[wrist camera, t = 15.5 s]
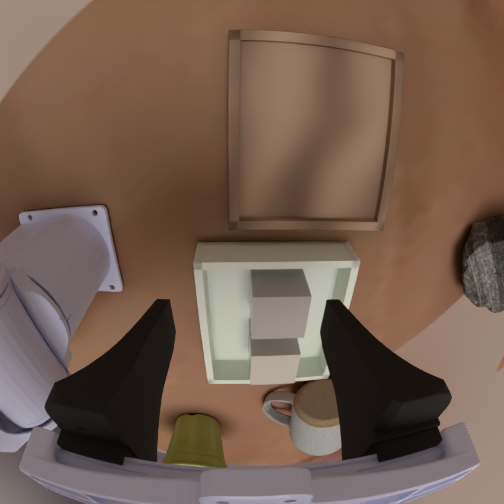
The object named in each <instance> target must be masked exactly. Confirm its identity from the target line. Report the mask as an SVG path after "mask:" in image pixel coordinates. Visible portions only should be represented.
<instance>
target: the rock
mask: <svg viewBox="0 0 504 504" xmlns="http://www.w3.org/2000/svg"><path fill="white" fill-rule="evenodd" d="M462 264H463V268H462V270H463V272H462V276H463V282H464V287H463V288H464V295H465V296H466V297H468V298H469V299H470V300H471V302H472V303H473V304H474V305H476V306H477V307H487V308H488V309H489V310H490V311H491V312H493V313H496V312H502V311H504V215H502V216H501V217H498V216H496V217H493V218H489V219H486V220H484V221H481V222H477V223H473V224H472V229H471V232H470V236H469V238H468V240H467V242H466V244H465V247H464V251H463V263H462Z"/></svg>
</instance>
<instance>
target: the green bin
mask: <svg viewBox="0 0 504 504" xmlns="http://www.w3.org/2000/svg"><path fill="white" fill-rule="evenodd" d="M359 265H360V259H359V258H358V256H357V255H356V253H355V252H354V250H353V248H352V247H351V245H350V244H349V242H198V244H197V248H196V252H195V256H194V261H193V267H194V277H195V286H196V295H197V304H198V312H199V320H200V328H201V336H202V343H203V351H204V358H205V364H206V371H207V378H208V384H246V383H250V375H249V355H248V335H249V319H250V309H249V286H250V270H253V269H303V272H304V275H305V278H306V281H307V284H308V287H309V290H310V293H311V296H312V298H311V303H310V309H309V314H308V320H307V325H306V330H305V335H304V338H297V339H298V344H299V348H300V353H301V356H300V361H299V366H298V370H297V375H296V380H295V381H306V380H317V379H327V378H328V377H329V374H330V373H329V370H328V366H327V363H326V359H325V356H324V352H323V348H322V342H321V336H320V328H321V324H322V319H323V315H324V310H325V305H326V300H330V299H339V300H340V301H341V302H342V303H343V304H344V305H345V306H346V307H347V309H348V310H349V306H350V302H351V298H352V294H353V290H354V286H355V282H356V278H357V273H358V269H359Z"/></svg>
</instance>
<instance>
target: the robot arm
mask: <svg viewBox="0 0 504 504" xmlns="http://www.w3.org/2000/svg"><path fill="white" fill-rule="evenodd" d="M94 210H96V211H97V212H98V214H95V213H94ZM30 215H31V216H32V218H31V217H30ZM19 220H20V224H21V225H20V226H19V227H18V228H16V229H15V230H14V231H13V232H12V233H10V234H9V235H8V236H7V237H6V238H5V239H4V240H2V241H1V242H0V452H16V451H17V450H18V449H19V448H20V447H21V446H22V445H23V444H24V443H25V442H27V441H28V443H27V446H26V449H25V452H24V454H23V457H22V460H21V463H20V466H19V469H20V470H21V471H22V472H24V473H25V474H27V475H28V476H29V477H31V478H32V479H34V480H35V481H37V482H38V483H40V484H41V485H43V486H44V487H46V488H48V489H50V490H52V491H55V492H57V493H60V494H62V495H65V496H67V497H70V498H72V499H75V500H78V501H81V502H83V503H86V504H404V503H406V502H409V501H412V500H414V499H417V498H419V497H422V496H425V495H427V494H429V493H432V492H434V491H437V490H439V489H441V488H444V487H446V486H449V485H451V484H452V483H454V482H455V481H457V480H458V479H460V478H462V477H463V476H465V475H466V474H467V473H469V472H470V471H472V470H473V469H474V468H476V467H477V466H478V465H479V464H480V461H479V459H478V456H477V453H476V450H475V448H474V445H473V443H472V440H471V438H470V435H469V433H468V431H467V428H466V426H465V424H464V423H463V422H462V423H459V424H456V425H453V426H451V427H448V428H445V429H443V430H442V431H440V432H439V429H438V426H439V425H440V421H439V419H438V417H439V416H440V415H441V414H442V412H443V411H444V410H445V409H446V408H447V406H448V405H449V403H450V401H451V398H452V396H451V393H450V391H449V389H448V387H447V385H446V383H445V381H444V380H443V379H440V378H438V377H436V376H433V375H431V374H429V373H426V372H424V371H423V370H420V369H419V368H417V367H415V366H413V365H411V364H410V363H408V362H407V361H405V360H404V359H402V358H401V357H399V356H398V355H396V354H395V353H393V352H392V351H391V350H390V349H388V348H387V347H386V346H384V345H383V344H382V343H381V342H380V341H379V340H377V339H376V338H375V337H374V336H373V335H372V334H371V333H370V332H369V331H368V330H367V329H366V328H365V327H364V326H363V325H362V324H361V323H360V322H359V321H358V320H357V319H356V318H355V316H354V315H353V314H352V313H351V312H350V311H349V310H348V309H347V307H346V306H345V305H344V304H343V303H342V302H341V301H340V300H339V299H330V300H326V305H325V310H324V315H323V319H322V324H321V328H320V336H321V342H322V348H323V352H324V356H325V359H326V363H327V366H328V370H329V373H330V377H331V380H332V383H333V387H334V391H335V396H336V402H337V409H338V416H339V424H340V435H341V447H342V461H336V462H329V463H322V464H313V465H303V466H291V467H271V468H213V467H197V466H185V465H175V464H167V463H159V462H157V442H158V426H159V415H160V407H161V399H162V393H163V388H164V384H165V380H166V376H167V372H168V369H169V365H170V361H171V357H172V353H173V349H174V342H175V334H176V330H175V325H174V320H173V314H172V309H171V304H170V299H157V300H156V301H155V302H154V303H153V304H152V305H151V307H150V308H149V309H148V310H147V311H146V313H145V314H144V315H143V316H142V317H141V319H140V320H139V321H138V322H137V323H136V324H135V325H134V326H133V327H132V329H131V330H130V331H129V332H128V333H127V334H126V335H125V336H124V337H123V338H122V339H121V340H120V341H119V342H118V343H117V344H116V345H114V346H113V347H112V348H111V349H110V350H109V351H107V352H106V353H105V354H103V355H102V356H101V357H99V358H98V359H96V360H95V361H94V362H92V363H91V364H89V365H88V366H86V367H84V368H83V369H81V370H79V371H78V372H76V373H74V374H72V375H71V373H70V372H69V371H68V370H67V368H68V365H69V363H70V361H71V359H72V354H71V352H70V349H69V345H70V342H71V340H72V338H73V336H74V334H75V332H76V330H77V328H78V327H79V325H80V323H81V321H82V319H83V317H84V315H85V313H86V311H87V310H88V308H89V306H90V304H91V302H92V301H93V299H94V297H95V295H96V293H97V292H98V291H110V292H120V291H122V289H123V282H122V278H121V274H120V270H119V265H118V261H117V257H116V252H115V247H114V243H113V238H112V233H111V228H110V222H109V217H108V211H107V208H106V207H105V206H103V205H93V206H80V207H67V208H56V209H45V210H35V211H25V212H22V213H20V215H19ZM111 285H113V286H114V287H112V286H111ZM57 426H58V427H59V428H60V429H61V432H60V435H58V434H56V433H55V432H53V431H51V430H52V429H54V428H55V427H57Z"/></svg>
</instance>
